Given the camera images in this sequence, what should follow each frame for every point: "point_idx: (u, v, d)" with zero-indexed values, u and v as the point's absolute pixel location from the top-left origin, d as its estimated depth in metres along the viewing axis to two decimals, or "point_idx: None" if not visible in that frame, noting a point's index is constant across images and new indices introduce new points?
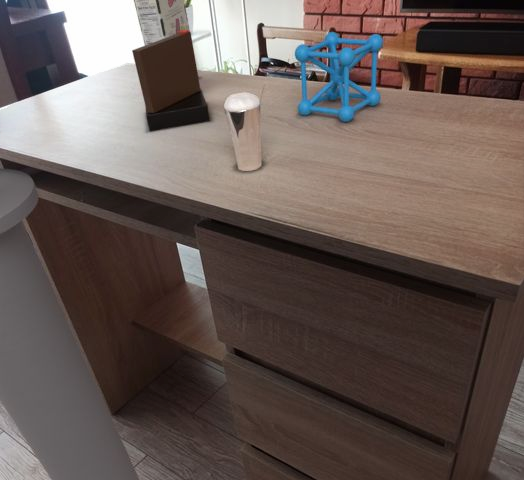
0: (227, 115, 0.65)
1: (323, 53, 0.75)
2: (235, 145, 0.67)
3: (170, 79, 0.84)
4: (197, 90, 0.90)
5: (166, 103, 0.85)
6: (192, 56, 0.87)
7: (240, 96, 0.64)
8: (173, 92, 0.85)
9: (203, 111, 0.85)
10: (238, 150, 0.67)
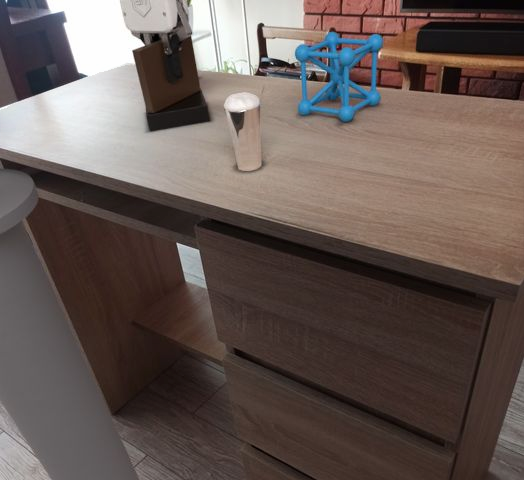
0: (227, 115, 0.65)
1: (323, 53, 0.75)
2: (235, 145, 0.67)
3: None
4: (197, 90, 0.90)
5: (166, 103, 0.85)
6: (192, 56, 0.87)
7: (240, 96, 0.64)
8: (173, 92, 0.85)
9: (203, 111, 0.85)
10: (238, 150, 0.67)
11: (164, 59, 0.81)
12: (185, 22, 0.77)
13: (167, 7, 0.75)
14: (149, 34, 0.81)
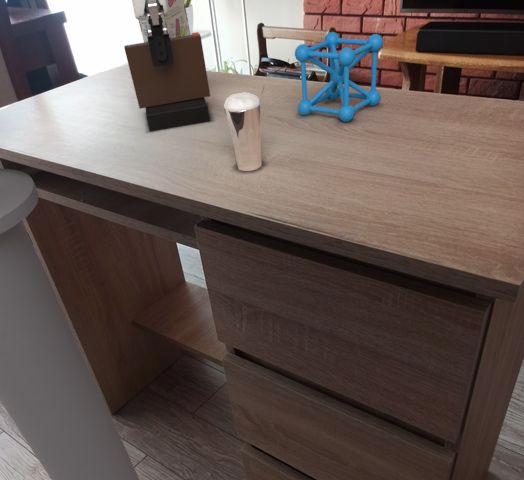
0: (227, 115, 0.65)
1: (323, 53, 0.75)
2: (235, 145, 0.67)
3: (165, 79, 0.84)
4: (205, 95, 0.87)
5: (157, 101, 0.86)
6: (201, 61, 0.84)
7: (240, 96, 0.64)
8: (168, 92, 0.86)
9: (203, 111, 0.85)
10: (238, 150, 0.67)
11: None
12: None
13: None
14: None
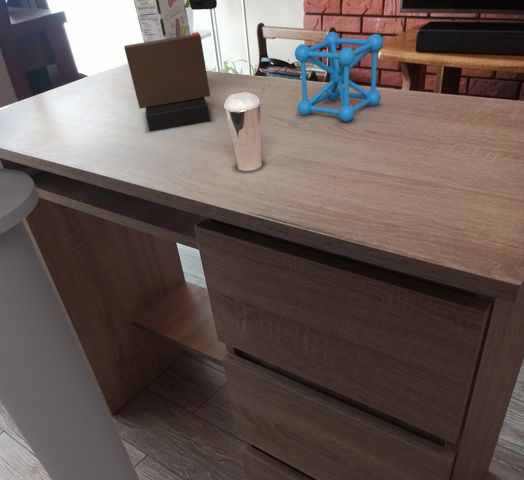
0: (227, 115, 0.65)
1: (323, 53, 0.75)
2: (235, 145, 0.67)
3: (165, 79, 0.84)
4: (205, 95, 0.87)
5: (157, 101, 0.86)
6: (201, 61, 0.84)
7: (240, 96, 0.64)
8: (168, 92, 0.86)
9: (203, 111, 0.85)
10: (238, 150, 0.67)
11: None
12: None
13: None
14: None
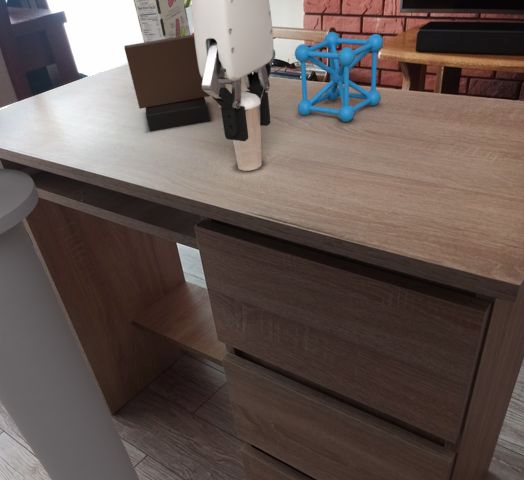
0: None
1: (323, 53, 0.75)
2: (235, 144, 0.67)
3: (165, 79, 0.84)
4: (205, 95, 0.87)
5: (157, 101, 0.86)
6: None
7: (241, 95, 0.64)
8: (168, 92, 0.86)
9: (203, 111, 0.85)
10: (238, 150, 0.67)
11: (223, 110, 0.64)
12: (208, 72, 0.57)
13: (196, 51, 0.58)
14: None
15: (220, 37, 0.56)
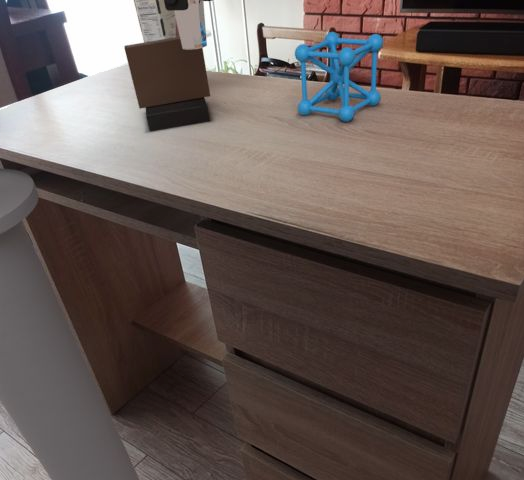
0: None
1: (323, 53, 0.75)
2: (177, 19, 0.64)
3: (165, 79, 0.84)
4: (205, 95, 0.87)
5: (157, 101, 0.86)
6: (201, 61, 0.84)
7: None
8: (168, 92, 0.86)
9: (203, 111, 0.85)
10: (180, 25, 0.64)
11: None
12: None
13: None
14: None
15: None
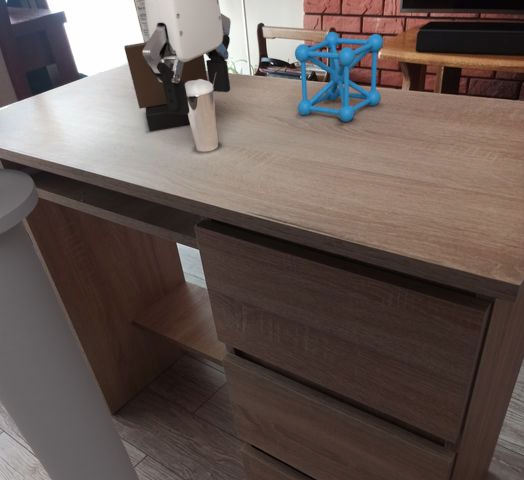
0: None
1: (323, 53, 0.75)
2: (192, 127, 0.74)
3: None
4: None
5: (157, 101, 0.86)
6: (201, 61, 0.84)
7: (195, 82, 0.70)
8: None
9: None
10: (195, 132, 0.74)
11: None
12: (151, 41, 0.62)
13: (149, 34, 0.65)
14: None
15: (169, 21, 0.62)
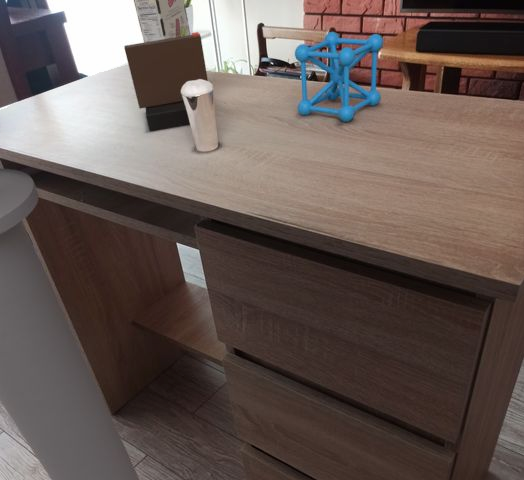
0: (183, 100, 0.71)
1: (323, 53, 0.75)
2: (192, 127, 0.74)
3: (165, 79, 0.84)
4: None
5: (157, 101, 0.86)
6: (201, 61, 0.84)
7: (194, 82, 0.70)
8: (168, 92, 0.86)
9: None
10: (195, 132, 0.74)
11: None
12: None
13: None
14: None
15: None
